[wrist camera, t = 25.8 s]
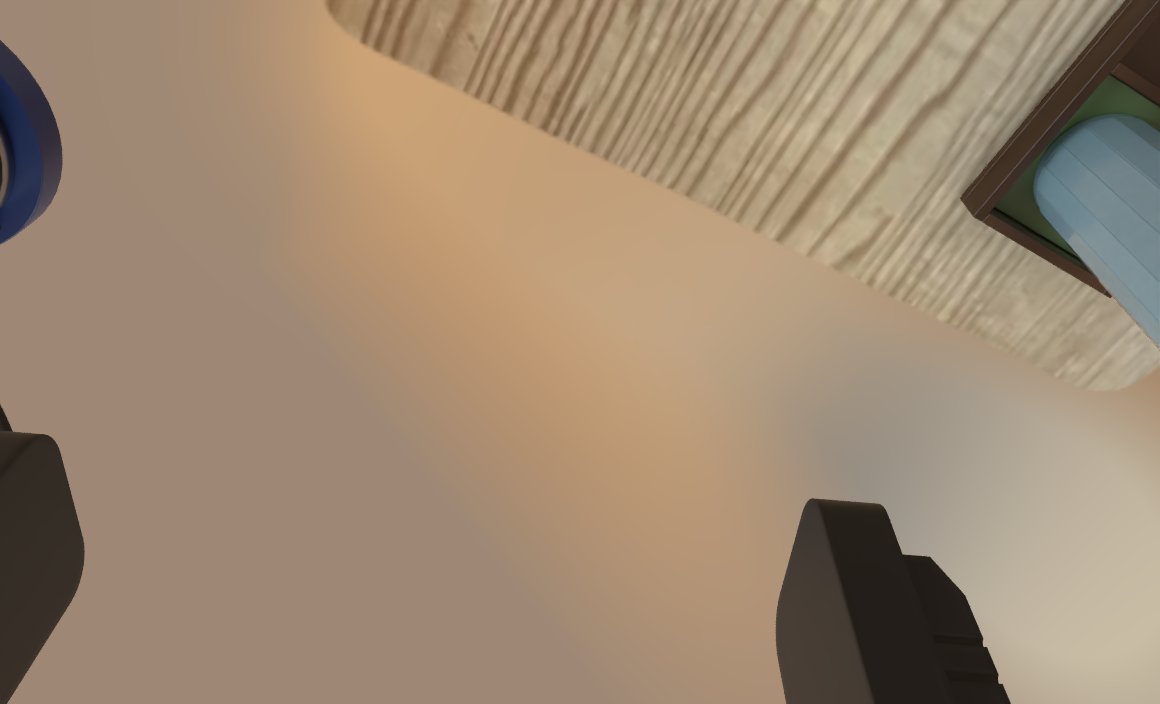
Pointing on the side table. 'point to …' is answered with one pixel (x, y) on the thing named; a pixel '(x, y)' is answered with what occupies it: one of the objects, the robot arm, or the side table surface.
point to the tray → (1087, 89)
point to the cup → (1109, 207)
